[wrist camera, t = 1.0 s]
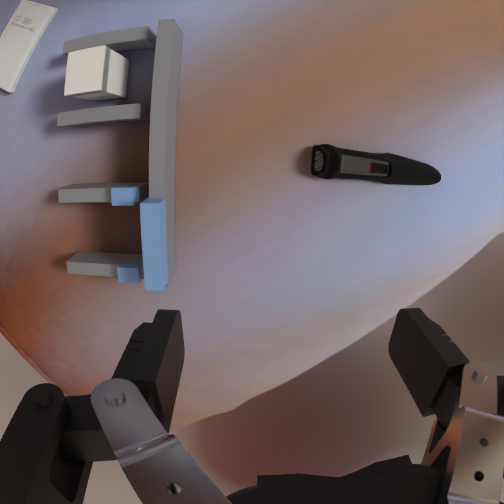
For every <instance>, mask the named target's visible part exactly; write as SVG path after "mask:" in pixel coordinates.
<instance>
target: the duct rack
mask: <svg viewBox="0 0 504 504" xmlns="http://www.w3.org/2000/svg"><path fill="white" fill-rule="evenodd" d="M156 38H157V39H156ZM182 42H183V33H182V31H181V29H180V28H179V26H178V24H177V23H176V21H175V19H166V20H159V23H158V31H157V36H156V34H155V33H154V32H153V31H152V30H151V29H150V28H149V27H148V26H147V27H138V28H131V29H124V30H117V31H111V32H106V33H100V34H95V35H90V36H86V37H81V38H77V39H73V40H69V41H65V43H64V49H63V54H66V55H68V53H69V52H73V51H77V50H82V49H87V48H92V47H97V46H103V45H105V46H107V47H108V48H110V49H112V50H113V51H115V52H120V51H128V50H136V49H146V48H155V47H156V48H155V58H154V68H153V80H152V94H151V106H148V105H144V104H141V103H140V104H127V105H115V106H105V107H97V108H89V109H81V110H74V111H68V112H61V113H57V127H59V126H79V125H88V124H97V123H108V122H120V121H136V120H150V135H149V183H90V184H72V185H69V186H66V187H63V188H61V189H58V196H59V203H71V202H112V206H134V205H135V204H137V202H140V201H142V200H143V199H145V198H146V197H148V196H149V198H147V199H145V200H144V201H142V202H141V203H140V218H141V239H142V254H128V253H107V252H87V251H78V252H77V253H76V254H75V255H73V256H72V257H71V258H70V259H69V260H67V261H66V264H67V270H68V273H71V274H83V275H96V276H109V277H118V280H119V283H132V284H139V283H140V282H141V280H142V279H145V290H153V291H163V290H164V288H165V287H167V286H168V284H169V282H170V280H171V278H172V275H173V273H174V271H175V269H176V248H175V152H176V125H177V105H178V89H179V76H180V63H181V52H182ZM150 110H151V111H150Z"/></svg>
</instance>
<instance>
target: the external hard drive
mask: <svg viewBox="0 0 504 504" xmlns="http://www.w3.org/2000/svg"><path fill="white" fill-rule="evenodd" d="M57 11H58V9H57V8H55V7H51V6H48V5H44V4H40V3H37V2H33V1H29V0H22V1H21V2H20V4H19V5H18V7H17V9H16V10H15V12H14V13H13V15H12V17H11V18H10V20H9V22H8V24H7V25H6V27H5V29H4V31H3V33H2V34H1V36H0V88H2V89H3V90H5V91H7V92H10V93H13V92H14V90H15V88H16V85H17V83H18V81H19V79H20V77H21V75H22V73H23V71H24V68H25V66H26V65H27V63H28V61H29V59H30V57H31V55H32V53H33V51H34V49H35V48H36V46H37V44H38V42H39V40H40V39H41V37H42V35H43V34H44V32H45V30H46V29H47V27H48V25H49V24H50V22H51V20H52V19H53V17H54V16H55V14H56V13H57Z"/></svg>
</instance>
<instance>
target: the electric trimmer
mask: <svg viewBox="0 0 504 504" xmlns="http://www.w3.org/2000/svg"><path fill="white" fill-rule="evenodd" d="M387 162H388V163H387ZM311 173H312V174H313V175H315V176H318V177H320V178H324V179H332V178H342V179H362V180H374V181H379V182H382V183H384V184H404V185H432V184H436V183H438V182H440V180H441V175H440V173H439V172H438V171H437V170H436V169H435V168H434V167H432V166H430V165H428V164H425V163H422V162H419V161H415V160H412V159H409V158H405V157H402V156H398V155H394V154H390V153H385V154H374V153H367V152H361V151H354V150H349V149H342V148H337V147H334V146H332V145H329V144H321V145H319V146H314V147H313V151H312V165H311Z"/></svg>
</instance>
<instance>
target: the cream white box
mask: <svg viewBox="0 0 504 504" xmlns="http://www.w3.org/2000/svg"><path fill="white" fill-rule="evenodd" d="M128 67H129V60H128V59H126V58H125V57H123V56H122V55H120V54H118V53H117V52H115V51H113V50H112V49H110V48H108V47H107V46H105V45H103V46H97V47H92V48H87V49H82V50H77V51H73V52H69V53H68V61H67V69H66V79H65V90H64V96H70V97H76V98H81V99H87V100H93V101H98V100H106V99H115V98H126V91H127V78H128Z"/></svg>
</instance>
